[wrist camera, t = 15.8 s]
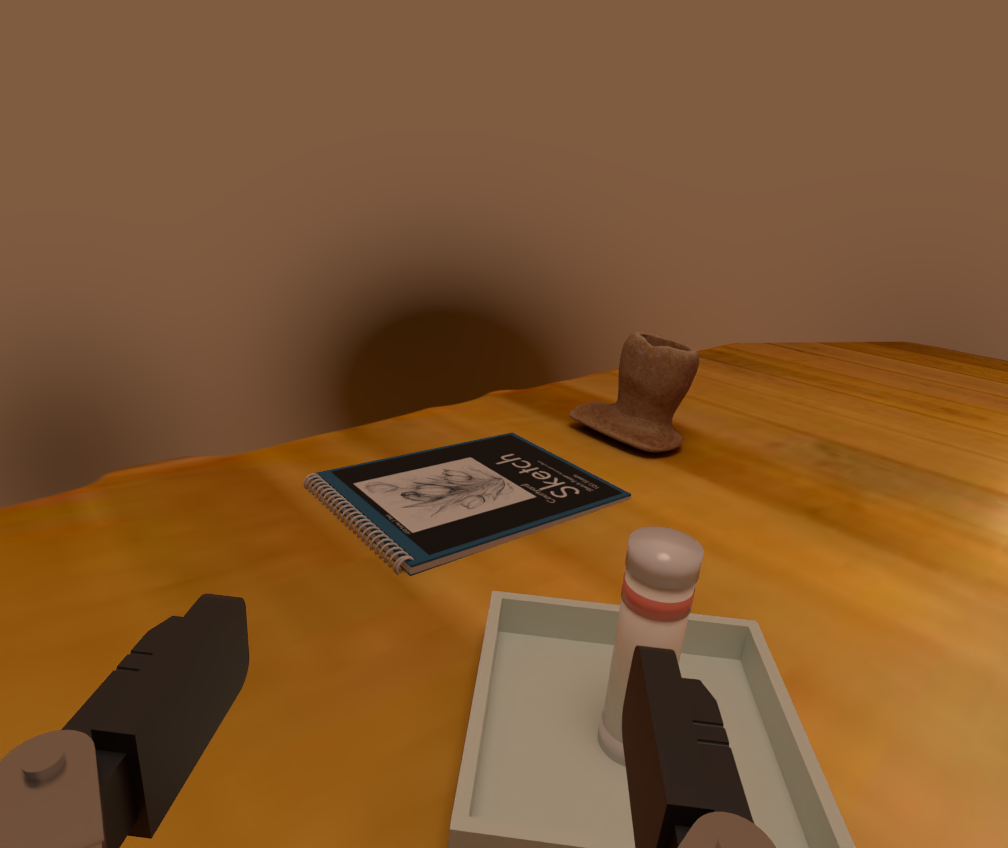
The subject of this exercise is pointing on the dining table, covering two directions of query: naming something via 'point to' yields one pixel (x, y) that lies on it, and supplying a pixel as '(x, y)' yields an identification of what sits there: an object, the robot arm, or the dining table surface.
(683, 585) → the fuse
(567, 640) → the parts tray
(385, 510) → the sketchbook
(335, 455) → the dining table surface
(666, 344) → the stone cup
